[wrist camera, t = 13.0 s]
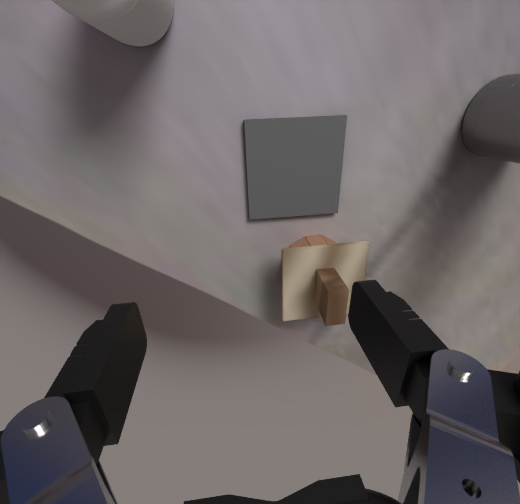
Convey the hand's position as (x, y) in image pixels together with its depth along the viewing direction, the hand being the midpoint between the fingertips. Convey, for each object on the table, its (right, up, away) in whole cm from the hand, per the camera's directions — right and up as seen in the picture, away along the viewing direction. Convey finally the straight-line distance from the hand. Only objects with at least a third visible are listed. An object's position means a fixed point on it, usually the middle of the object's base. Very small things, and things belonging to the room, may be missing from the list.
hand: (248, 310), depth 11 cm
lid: (+9, -2, +28) cm, 30 cm away
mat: (+5, +13, +26) cm, 29 cm away
